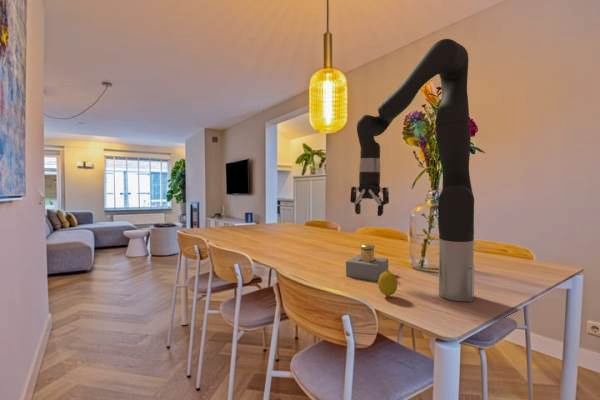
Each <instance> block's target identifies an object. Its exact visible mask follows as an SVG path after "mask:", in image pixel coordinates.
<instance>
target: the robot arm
mask: <svg viewBox="0 0 600 400" xmlns="http://www.w3.org/2000/svg"><path fill="white" fill-rule="evenodd" d="M468 71H469V52H468V49H466V47H464V46H463V45H462V44H460V43H458V42H457V41H455V40H454V39H451V38H443V39H440V40H438V41H436V43H433V45H432V46H431V47H430V48H429V49H428V51H427V52H426V53H424V55H423V57H422V58H421V60H420V61H418V63H417V64H416V66H414V68H413V69H412V70H411V72H410V73H409V74H408V75H407V77H406V78H405V79H404V80H403V81H402V83H400V84H399V86H398V87H397V88H395V90H393V91H392V93H390V94H389V95H388V96H387V97H385V99H384V100H383V101H381V103H380V104H379V105H378V108H377V112H378V114H377V115H375V116H374V115H371V114H364V115H362V116H360V117H359V119H358V120H357V123H356V133H357V138H358V142H359V143H358V144H359V147H360V160H359V166H358V167H359V168H358V171H359V172H358V173H359V175H358V183H359V185H358V186H351V187H350V197H349V198H350V199H349V200H350V203H353V204H354V212H355V214H356V215H361V211H362V210H361V205H362V204H361V202H363V200H365V199H369V200H374V201H375V202H376V204H378V205H377V216H378V217H382V215H383V214H384V206H385V205H389V203H390V196H389V192H390V191H389V187H388V186H387V187H385V186H384V187H381V185H380V184H381V145H380V143H378V142H377V141H376V139H375V137H378V136H380V135H382V134H383V133H385V131H386V130H387V129H388V127H389V126H390V124H392V122H393V121H394V120H395V119H396V118H397V117H398V116H399V115H400V114H401V113H402V112H404V111H405V110H406V109H407V108H408V107H409V106H410V105H411V104H412V103H413V101H414V99H415V98H416V96H417V94H418V92H419V91H420V90H421V89H422V87H423V86H424V85H425V84H426V83H428V82H429V81H430V80H431V79H433V78H434V77H435V76H437V75H439V79H440V84H441V99H440V104H439V107H438V109H437V113H436V117H435V123H434V124H435V140H436V147H437V152H438V156H439V157H438V158H439V160H440V164H441V171H442V185H441V186H442V188H441V189H442V190H441V192H440V194H439V196H438V201H437V218H438V220H437V223H438V224H437V228H438V295H439V296H440V297H441V298H443V299H445V300H449V301H455V302H470V303H472V302H473V300H474V297H475V265H474V258H475V257H474V250H475V249H474V246H475V243H474V242H475V237H474V236H475V223H474V222H475V197H474V193H473V187H472V182H471V176H470V158H471V157H470V156H471V140H472V139H471V120H470V110H469V108H470V107H469V106H470V105H469V96H468V95H469V94H468ZM380 192H381V194H382V197H381V195H380ZM357 193H359V194H357ZM357 195H358V196H357Z"/></svg>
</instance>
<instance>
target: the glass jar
mask: <svg viewBox="0 0 600 400" xmlns="http://www.w3.org/2000/svg"><path fill="white" fill-rule="evenodd" d="M359 247H360V255H361V261H364V262H371V263H372V262H374V257H375V249H376V246H375V244H369V243H368V244H367V243H365V244H360V245H359Z"/></svg>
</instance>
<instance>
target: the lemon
mask: <svg viewBox="0 0 600 400" xmlns="http://www.w3.org/2000/svg"><path fill="white" fill-rule="evenodd" d="M377 285H378V289H379V292H380V293H382V294H383V295H385V296H386V297H387V298H389V297H391V296H392V295H394V294H395V293H396V291H397V289H398V280H397V277H396V275H395V274H394V273H393V272H390V271H389V270H388V271H386V272H383V273H382V274H381V275H380V276H379V280H378V281H377Z"/></svg>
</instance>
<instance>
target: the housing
mask: <svg viewBox="0 0 600 400" xmlns="http://www.w3.org/2000/svg"><path fill="white" fill-rule="evenodd" d="M386 271H389V258H386V257H378V256H374V262H372V263H371V262H364V261H361V254H359V255H357V256H354V257H352V258H350V259H348V260H346V261H345V276H346V277H348V278H357V279H361V280H369V281H374V282H378V280H379V276H380V275H381V274H382V273H383V272H386Z"/></svg>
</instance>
